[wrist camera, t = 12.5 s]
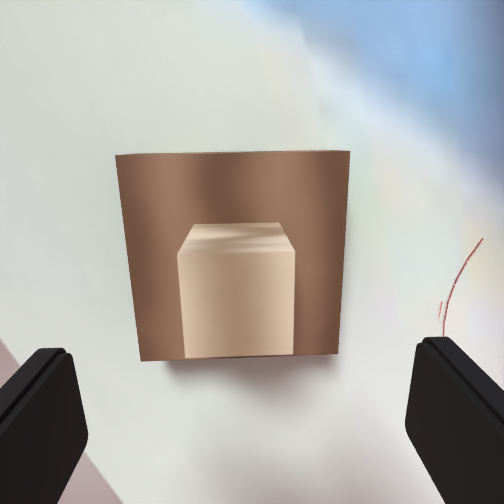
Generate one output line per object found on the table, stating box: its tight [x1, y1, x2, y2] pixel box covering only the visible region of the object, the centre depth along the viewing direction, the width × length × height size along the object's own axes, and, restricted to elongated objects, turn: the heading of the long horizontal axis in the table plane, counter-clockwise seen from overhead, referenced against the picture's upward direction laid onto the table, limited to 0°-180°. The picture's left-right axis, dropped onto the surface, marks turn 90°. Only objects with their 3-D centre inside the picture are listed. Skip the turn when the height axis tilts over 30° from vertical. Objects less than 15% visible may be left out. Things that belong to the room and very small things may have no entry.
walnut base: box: [115, 150, 350, 361], centre depth 23 cm, size 13×13×4 cm
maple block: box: [177, 222, 295, 358], centre depth 19 cm, size 5×5×6 cm
